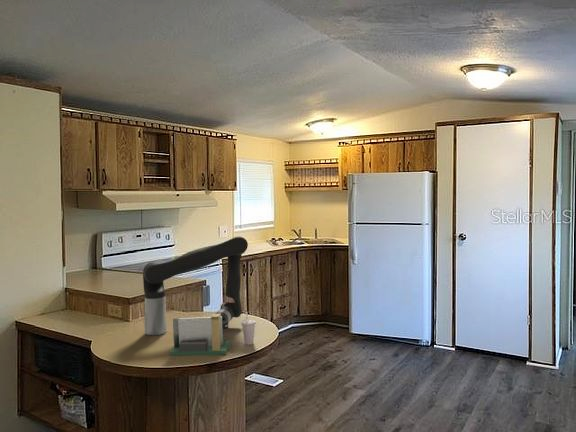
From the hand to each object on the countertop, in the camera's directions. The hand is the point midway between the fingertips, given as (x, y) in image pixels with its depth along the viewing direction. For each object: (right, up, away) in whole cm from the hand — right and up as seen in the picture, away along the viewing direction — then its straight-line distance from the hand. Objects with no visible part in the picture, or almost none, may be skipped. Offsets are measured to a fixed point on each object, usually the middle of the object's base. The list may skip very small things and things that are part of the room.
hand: (208, 331), depth 206 cm
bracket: (-3, -8, +1) cm, 9 cm away
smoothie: (+17, -7, +7) cm, 20 cm away
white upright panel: (-4, -6, -1) cm, 7 cm away
